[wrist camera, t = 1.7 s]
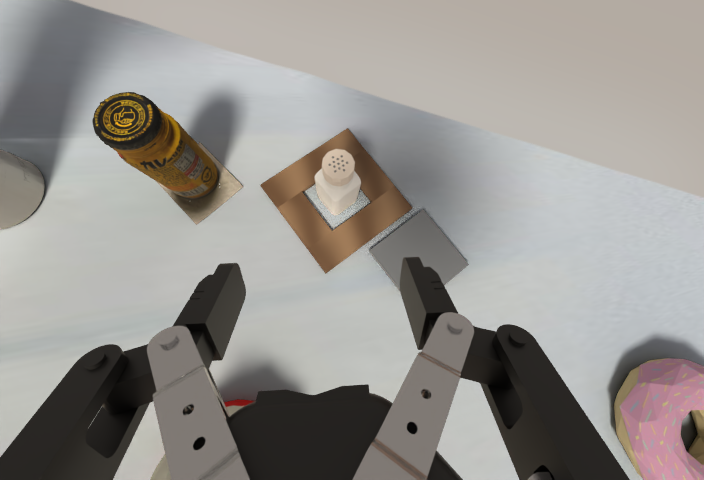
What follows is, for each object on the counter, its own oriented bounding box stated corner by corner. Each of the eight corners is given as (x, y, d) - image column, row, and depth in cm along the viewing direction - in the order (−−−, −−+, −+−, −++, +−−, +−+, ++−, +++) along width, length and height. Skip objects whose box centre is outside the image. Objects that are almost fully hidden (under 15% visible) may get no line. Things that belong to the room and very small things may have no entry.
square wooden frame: (325, 273, 33) (325, 273, 32) (261, 186, 34) (260, 185, 34) (411, 209, 35) (412, 207, 35) (347, 130, 37) (347, 128, 36)
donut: (583, 446, 31) (630, 475, 26) (625, 330, 34) (674, 336, 29) (703, 521, 30) (774, 565, 26) (735, 396, 33) (804, 414, 29)
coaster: (413, 309, 33) (415, 309, 32) (368, 251, 34) (369, 250, 33) (466, 264, 34) (468, 264, 34) (421, 210, 35) (423, 209, 34)
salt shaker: (315, 195, 35) (308, 159, 25) (339, 177, 35) (341, 137, 26) (334, 218, 34) (335, 191, 25) (358, 200, 35) (367, 167, 25)
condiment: (200, 143, 35) (132, 67, 23) (243, 187, 34) (196, 132, 22) (153, 178, 34) (57, 118, 22) (197, 225, 33) (121, 188, 21)
